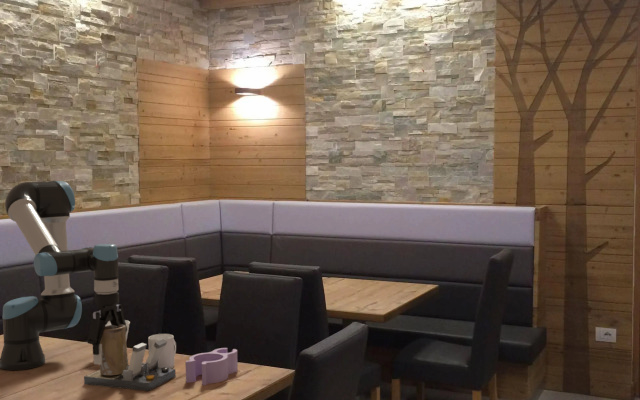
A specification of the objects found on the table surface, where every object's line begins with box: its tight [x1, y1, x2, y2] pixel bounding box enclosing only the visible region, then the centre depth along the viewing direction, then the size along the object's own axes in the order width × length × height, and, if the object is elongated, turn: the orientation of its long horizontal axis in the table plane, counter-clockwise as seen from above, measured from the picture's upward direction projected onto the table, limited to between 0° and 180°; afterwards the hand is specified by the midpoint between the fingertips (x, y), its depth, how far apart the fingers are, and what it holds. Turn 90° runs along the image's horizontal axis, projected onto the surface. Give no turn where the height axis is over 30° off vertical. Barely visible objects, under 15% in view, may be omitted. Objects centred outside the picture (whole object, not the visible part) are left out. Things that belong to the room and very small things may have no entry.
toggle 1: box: [128, 342, 147, 377], centre depth 234 cm, size 2×5×11 cm, turn 161°
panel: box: [83, 359, 176, 392], centre depth 240 cm, size 24×17×6 cm
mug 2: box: [147, 333, 177, 369], centre depth 256 cm, size 9×12×11 cm
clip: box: [185, 347, 239, 386], centre depth 244 cm, size 20×12×7 cm, turn 151°
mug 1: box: [99, 325, 129, 375], centre depth 239 cm, size 9×13×15 cm
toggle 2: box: [144, 339, 167, 369], centre depth 242 cm, size 2×5×11 cm, turn 161°
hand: (108, 359), depth 239 cm, fingers open, 11 cm apart
